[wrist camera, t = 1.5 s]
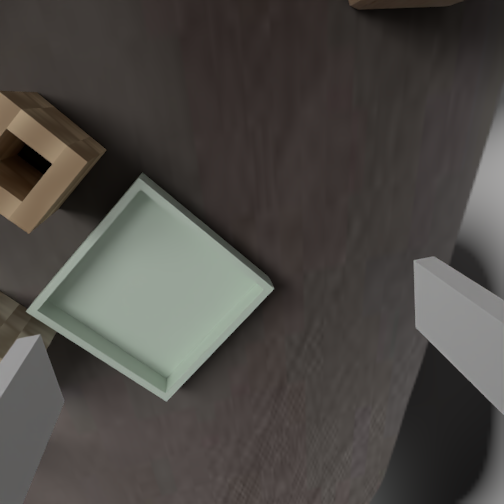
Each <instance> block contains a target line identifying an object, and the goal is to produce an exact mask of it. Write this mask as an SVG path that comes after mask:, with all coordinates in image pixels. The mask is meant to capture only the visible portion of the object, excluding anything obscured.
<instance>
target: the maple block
mask: <svg viewBox="0 0 504 504" xmlns="http://www.w3.org/2000/svg"><path fill="white" fill-rule="evenodd" d="M26 311H27V308H25V307H24V306H22V305H21V304H19V303H17V302H16V301H14V300H13V299H11V298H10V297H8V296H6V295H5V294H3V293H2V292H0V362H1V361H2V359H3V358H4V356H5V355H6V354H7V352H8V351H9V349H10V348H11V347H12V345H13V344H14V343H15V341H16V340H17V339H19V338H24V337H29V336H34V335H39V334H41V337H42V340H43V343H44V345H45V348H46V350H47V348H48V346H49V345H50V343H51V341H52V339H53V338H54V336H55V334H56V332H57V331H55V330H53V329H52V328H50V327H49V326H47V325H46V324H44V323H43V322H41V321H39V320H38V319H36V318H35V317H33V316H32V315H30V314H28V313H27V312H26Z"/></svg>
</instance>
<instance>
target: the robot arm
mask: <svg viewBox="0 0 504 504" xmlns="http://www.w3.org/2000/svg"><path fill="white" fill-rule="evenodd" d="M414 290H415V323H416V328H417V329H418V330H419V331H420V332H421V333H422V334H423V335H424V336H425V337H426V338H427V339H428V340H429V341H430V342H431V343H432V344H433V345H434V346H435V347H436V348H437V349H438V350H439V351H440V352H441V353H442V354H443V355H444V356H445V357H446V358H447V359H448V360H449V361H450V362H451V363H452V364H453V365H454V366H455V367H456V368H457V369H458V370H459V371H460V372H461V373H462V374H463V375H464V376H465V377H466V378H467V379H468V380H469V381H470V382H471V383H472V384H473V385H474V386H475V387H476V388H477V389H478V390H479V391H480V392H481V393H482V394H483V395H484V396H485V397H486V398H487V399H488V400H489V401H490V402H491V403H492V404H493V405H494V406H495V407H496V408H497V409H498V410H499V411H500V412H501V413H502V414H503V415H504V300H503V299H501V298H499V297H498V296H496V295H495V294H493V293H491V292H490V291H488V290H487V289H485V288H484V287H482V286H480V285H479V284H477V283H475V282H474V281H472V280H471V279H469V278H468V277H466V276H465V275H463V274H461V273H460V272H458V271H457V270H455V269H453V268H452V267H450V266H449V265H447V264H445V263H444V262H442V261H441V260H439V259H438V258H436V257H434V256H433V257H428V258H422V259H417V260H414ZM64 402H65V401H64V398H63V395H62V393H61V390H60V387H59V384H58V382H57V379H56V376H55V373H54V370H53V368H52V365H51V362H50V359H49V356H48V354H47V351H46V348H45V345H44V343H43V340H42V337H41V334H39V335H34V336H29V337H24V338H19V339H17V340H16V341H15V343H14V344H13V345H12V347H11V348H10V349H9V351H8V352H7V354H6V355H5V356H4V358H3V359H2V361H1V362H0V504H23V502H24V499H25V497H26V494H27V492H28V489H29V487H30V485H31V482H32V480H33V477H34V475H35V472H36V470H37V468H38V465H39V463H40V460H41V458H42V455H43V453H44V450H45V448H46V446H47V443H48V441H49V438H50V436H51V433H52V431H53V429H54V426H55V424H56V421H57V419H58V416H59V414H60V412H61V409H62V407H63V404H64Z"/></svg>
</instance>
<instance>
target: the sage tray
mask: <svg viewBox="0 0 504 504" xmlns="http://www.w3.org/2000/svg"><path fill="white" fill-rule="evenodd" d="M273 290H274V287H273V285H272V282H271V280H270V278H269V277H268V276H267V275H266V274H265V273H264V272H262V271H261V270H260V269H259V268H258V267H256V266H255V265H254V264H253V263H252V262H250V261H249V260H248V259H247V258H245V257H244V256H243V255H242V254H241V253H239V252H238V251H237V250H236V249H235V248H233V247H232V246H231V245H230V244H229V243H227V242H226V241H225V240H224V239H222V238H221V237H220V236H219V235H218V234H216V233H215V232H214V231H213V230H212V229H210V228H209V227H208V226H207V225H206V224H204V223H203V222H202V221H201V220H200V219H198V218H197V217H196V216H195V215H193V214H192V213H191V212H190V211H189V210H187V209H186V208H185V207H184V206H183V205H181V204H180V203H179V202H178V201H177V200H175V199H174V198H173V197H172V196H171V195H169V194H168V193H167V192H166V191H164V190H163V189H162V188H161V187H160V186H158V185H157V184H156V183H155V182H154V181H152V180H151V179H150V178H149V177H148V176H146V175H145V174H144V173H143V172H142V173H141V174H140V176H139V177H138V178H137V179H136V180H135V182H134V183H133V184H132V185H131V186H130V187H129V189H128V190H127V191H126V192H125V193H124V195H123V196H122V197H121V198H120V199H119V200H118V202H117V203H116V204H115V205H114V206H113V208H112V209H111V210H110V211H109V212H108V213H107V215H106V216H105V217H104V218H103V219H102V221H101V222H100V223H99V224H98V225H97V226H96V228H95V229H94V230H93V231H92V232H91V234H90V235H89V236H88V237H87V238H86V239H85V241H84V242H83V243H82V244H81V245H80V247H79V248H78V249H77V250H76V251H75V252H74V254H73V255H72V256H71V257H70V258H69V260H68V261H67V262H66V263H65V264H64V265H63V267H62V268H61V269H60V270H59V271H58V273H57V274H56V275H55V276H54V277H53V278H52V280H51V281H50V282H49V283H48V284H47V286H46V287H45V288H44V289H43V290H42V291H41V293H40V294H39V295H38V296H37V297H36V299H35V300H34V301H33V303H32V304H31V305H30V307H29V308H28V309H27V311H26V312H27V313H28V314H30V315H32V316H33V317H35V318H36V319H38V320H39V321H41V322H43V323H44V324H46V325H47V326H49V327H50V328H52V329H53V330H55V331H57V332H58V333H60V334H61V335H63V336H64V337H66V338H68V339H69V340H71V341H72V342H74V343H75V344H77V345H79V346H80V347H82V348H83V349H85V350H86V351H88V352H90V353H91V354H93V355H94V356H96V357H97V358H99V359H101V360H102V361H104V362H105V363H107V364H108V365H110V366H111V367H113V368H115V369H116V370H118V371H119V372H121V373H122V374H124V375H126V376H127V377H129V378H130V379H132V380H133V381H135V382H137V383H138V384H140V385H141V386H143V387H144V388H146V389H148V390H149V391H151V392H152V393H154V394H155V395H157V396H159V397H160V398H162V399H163V400H165V401H166V402H167V401H168V399H169V398H170V397H171V396H172V395H173V394H174V393H175V392H176V391H177V390H178V389H179V388H180V387H181V386H182V385H183V384H184V383H185V382H186V381H187V380H188V379H189V378H190V376H191V375H192V374H193V373H194V372H195V371H196V370H197V369H198V368H199V367H200V366H201V365H202V364H203V363H204V362H205V361H206V360H207V359H208V358H209V357H210V356H211V355H212V353H213V352H214V351H215V350H216V349H217V348H218V347H219V346H220V345H221V344H222V343H223V342H224V341H225V340H226V339H227V338H228V337H229V336H230V335H231V334H232V333H233V332H234V330H235V329H236V328H237V327H238V326H239V325H240V324H241V323H242V322H243V321H244V320H245V319H246V318H247V317H248V316H249V315H250V314H251V313H252V312H253V311H254V310H255V308H256V307H257V306H258V305H259V304H260V303H261V302H262V301H263V300H264V299H265V298H266V297H267V296H268V295H269V294H270V293H271V292H272V291H273Z"/></svg>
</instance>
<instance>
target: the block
mask: <svg viewBox="0 0 504 504" xmlns="http://www.w3.org/2000/svg"><path fill="white" fill-rule="evenodd" d="M348 1H349V5H350V6H352V7H354V8H356V9H358V10H361V9H388V8H415V7H442V6H450V5H453V4H456V3H459V2H462V1H464V0H348Z"/></svg>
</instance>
